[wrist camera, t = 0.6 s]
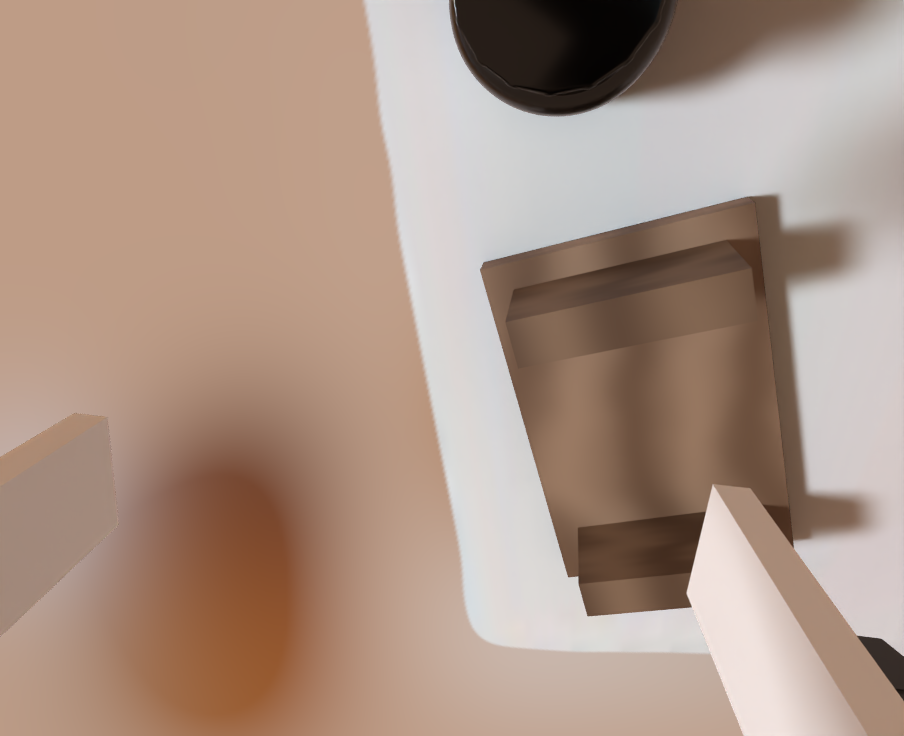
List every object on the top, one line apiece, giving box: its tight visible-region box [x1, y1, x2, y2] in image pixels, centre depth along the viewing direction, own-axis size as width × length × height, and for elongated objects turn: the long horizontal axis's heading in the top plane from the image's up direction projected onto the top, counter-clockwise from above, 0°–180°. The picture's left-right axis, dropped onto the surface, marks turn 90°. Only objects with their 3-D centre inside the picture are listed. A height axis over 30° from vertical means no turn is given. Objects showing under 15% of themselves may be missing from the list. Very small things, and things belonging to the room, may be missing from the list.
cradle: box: [480, 197, 794, 616], centre depth 35 cm, size 14×22×6 cm, turn 17°
